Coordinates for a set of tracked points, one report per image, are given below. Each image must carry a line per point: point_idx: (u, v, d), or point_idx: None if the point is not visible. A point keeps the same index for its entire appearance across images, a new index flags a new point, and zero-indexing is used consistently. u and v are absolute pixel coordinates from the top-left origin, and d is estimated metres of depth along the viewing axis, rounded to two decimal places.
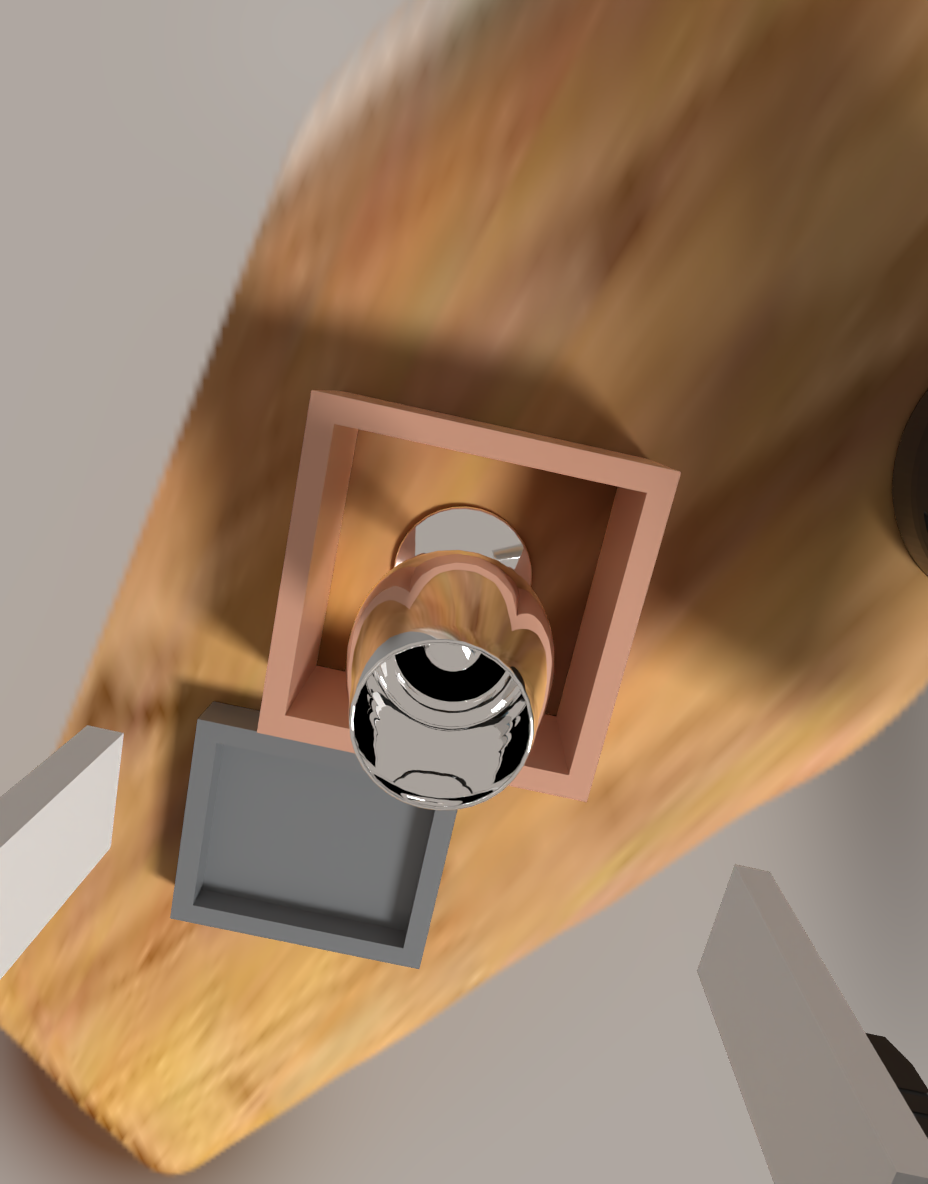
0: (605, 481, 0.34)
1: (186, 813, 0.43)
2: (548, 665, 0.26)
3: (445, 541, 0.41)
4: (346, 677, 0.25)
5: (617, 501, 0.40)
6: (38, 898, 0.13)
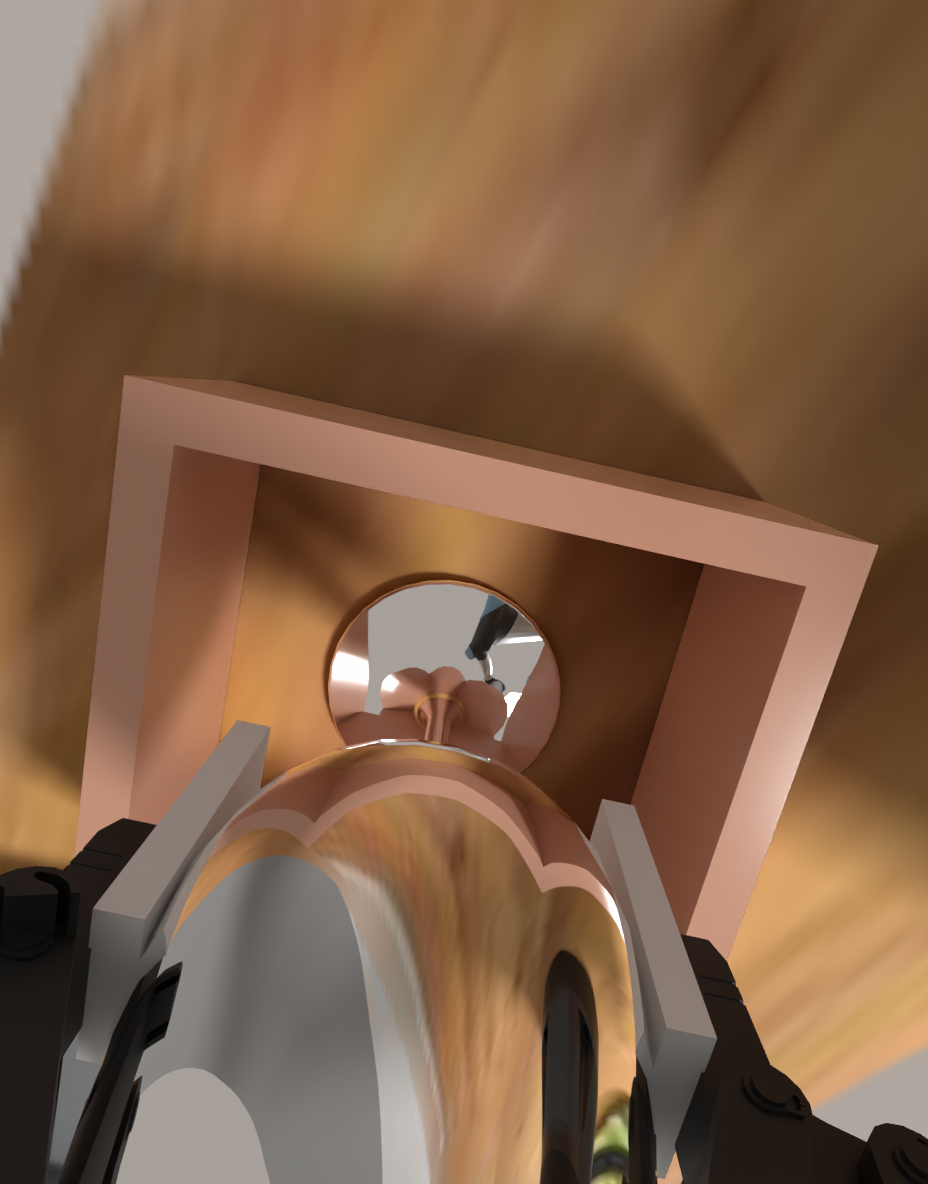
0: (724, 563, 0.17)
1: None
2: (653, 1163, 0.09)
3: (414, 639, 0.24)
4: None
5: (712, 576, 0.23)
6: None
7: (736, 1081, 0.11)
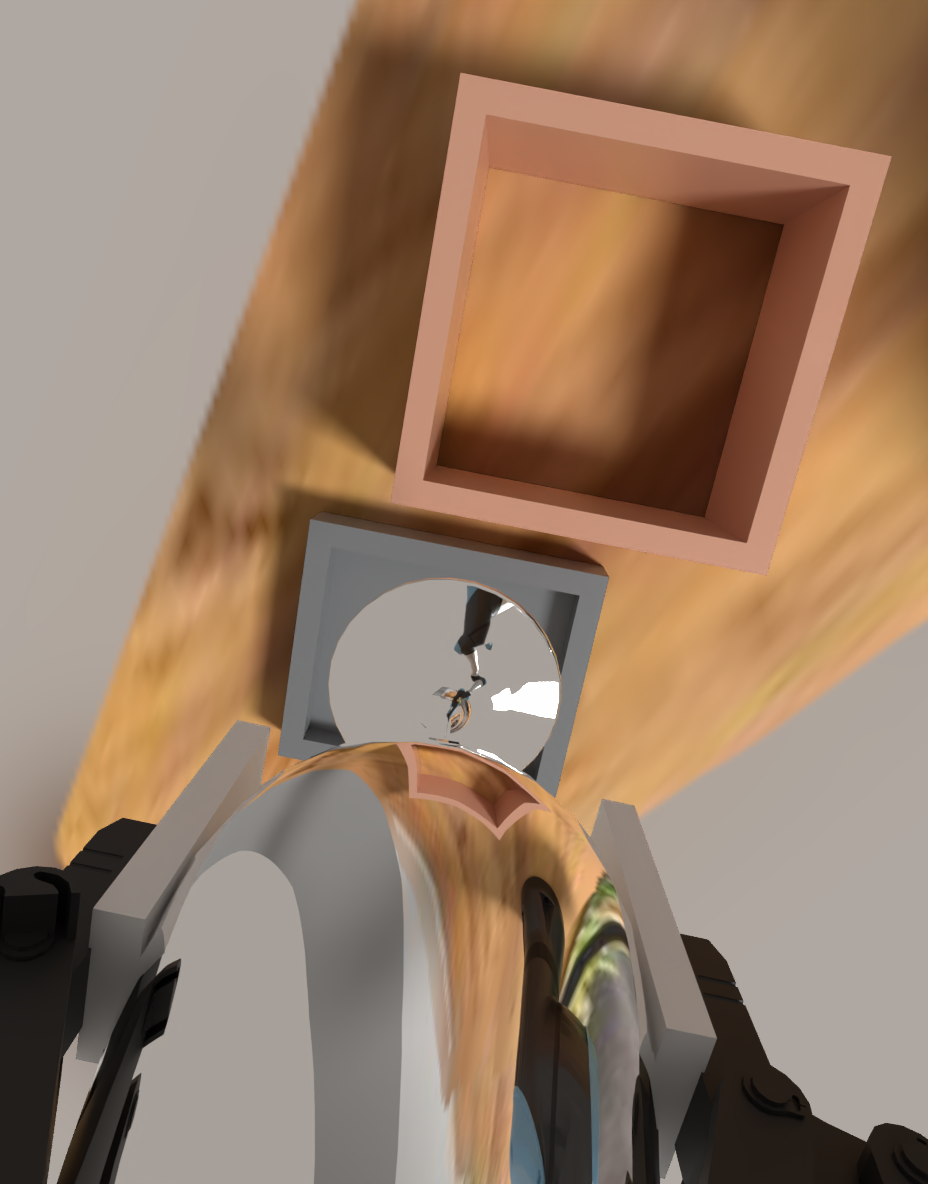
0: (801, 172, 0.29)
1: (296, 631, 0.39)
2: (656, 1160, 0.09)
3: (414, 637, 0.24)
4: None
5: (784, 248, 0.35)
6: None
7: (736, 1081, 0.11)
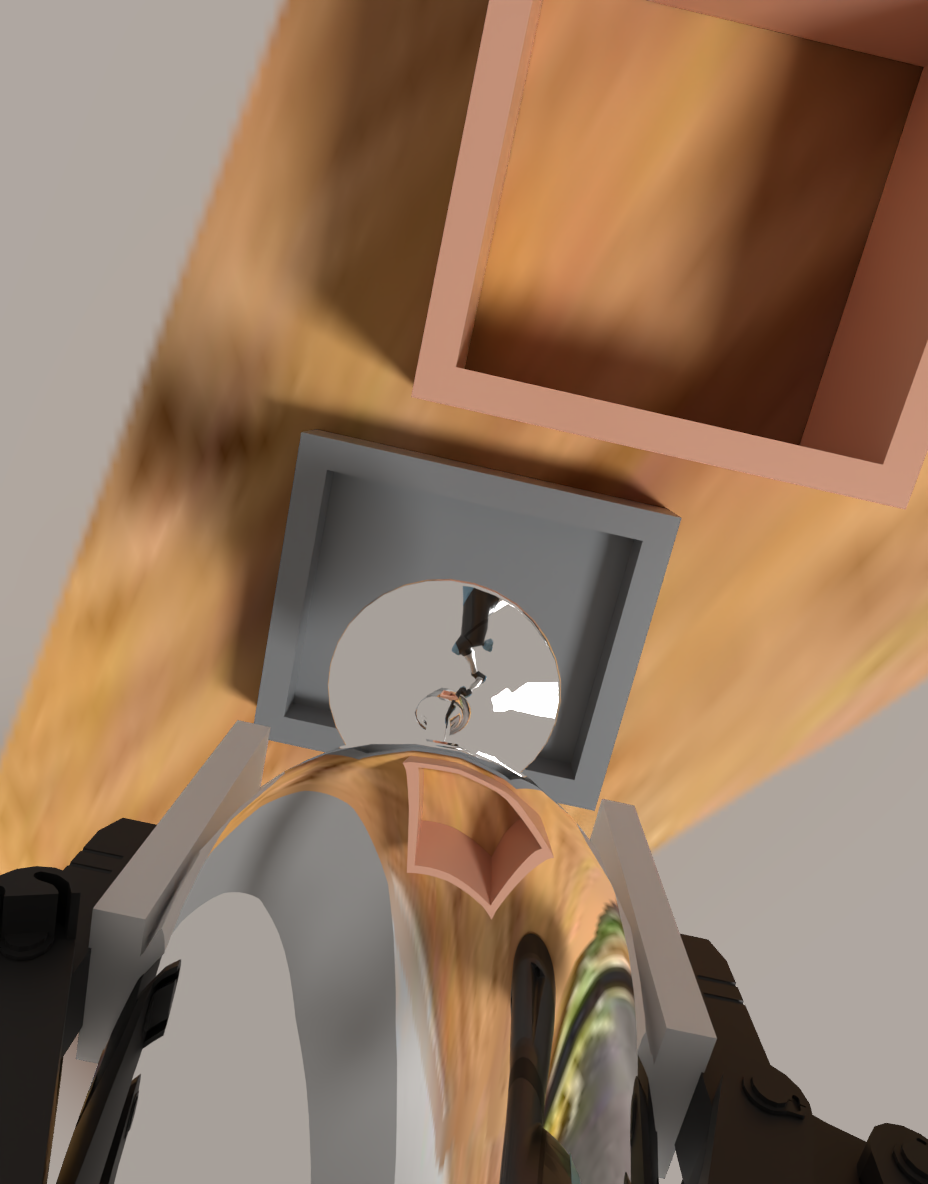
0: None
1: (280, 578, 0.31)
2: (655, 1163, 0.09)
3: (414, 638, 0.24)
4: None
5: (926, 93, 0.27)
6: None
7: (736, 1081, 0.11)
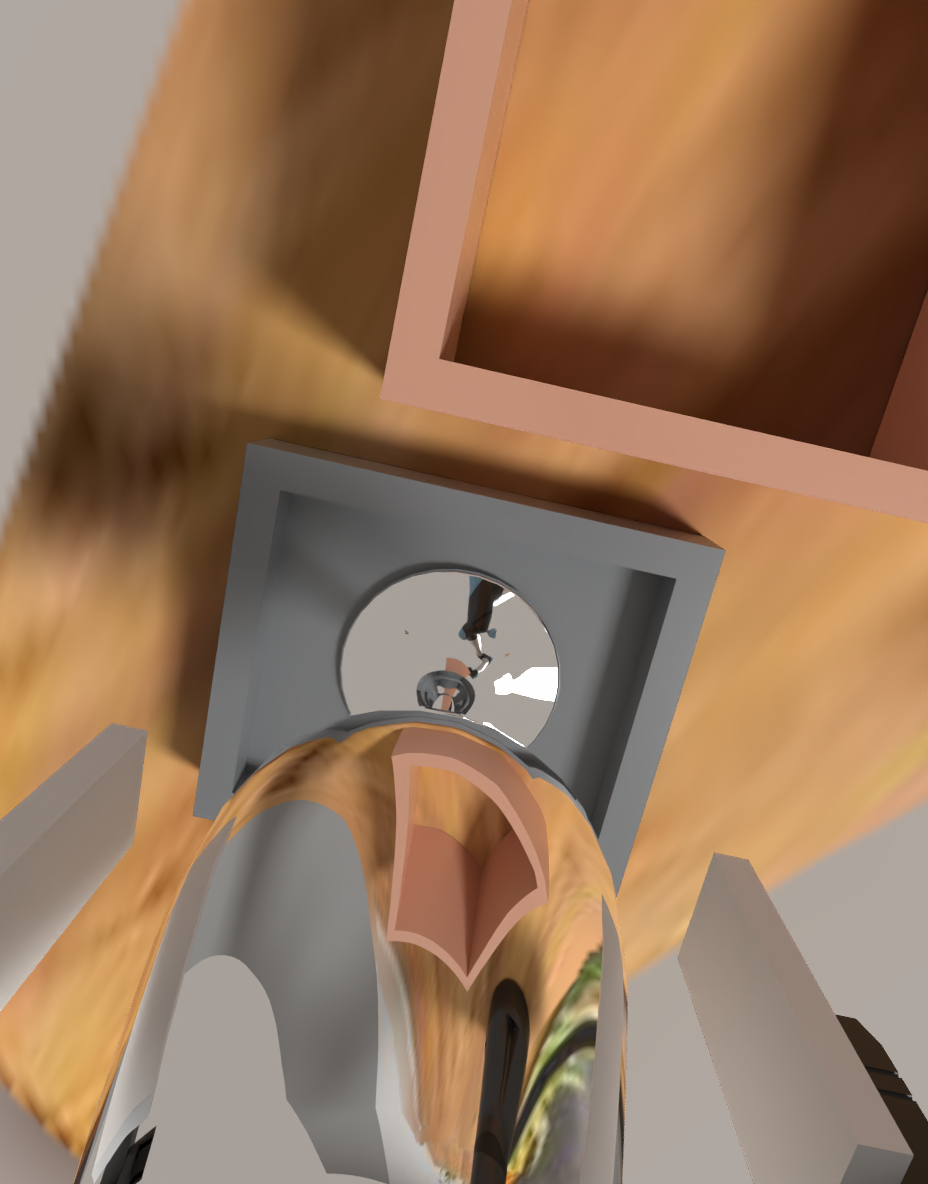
0: None
1: (224, 624, 0.25)
2: (623, 1063, 0.10)
3: (421, 624, 0.25)
4: None
5: None
6: (67, 892, 0.14)
7: None
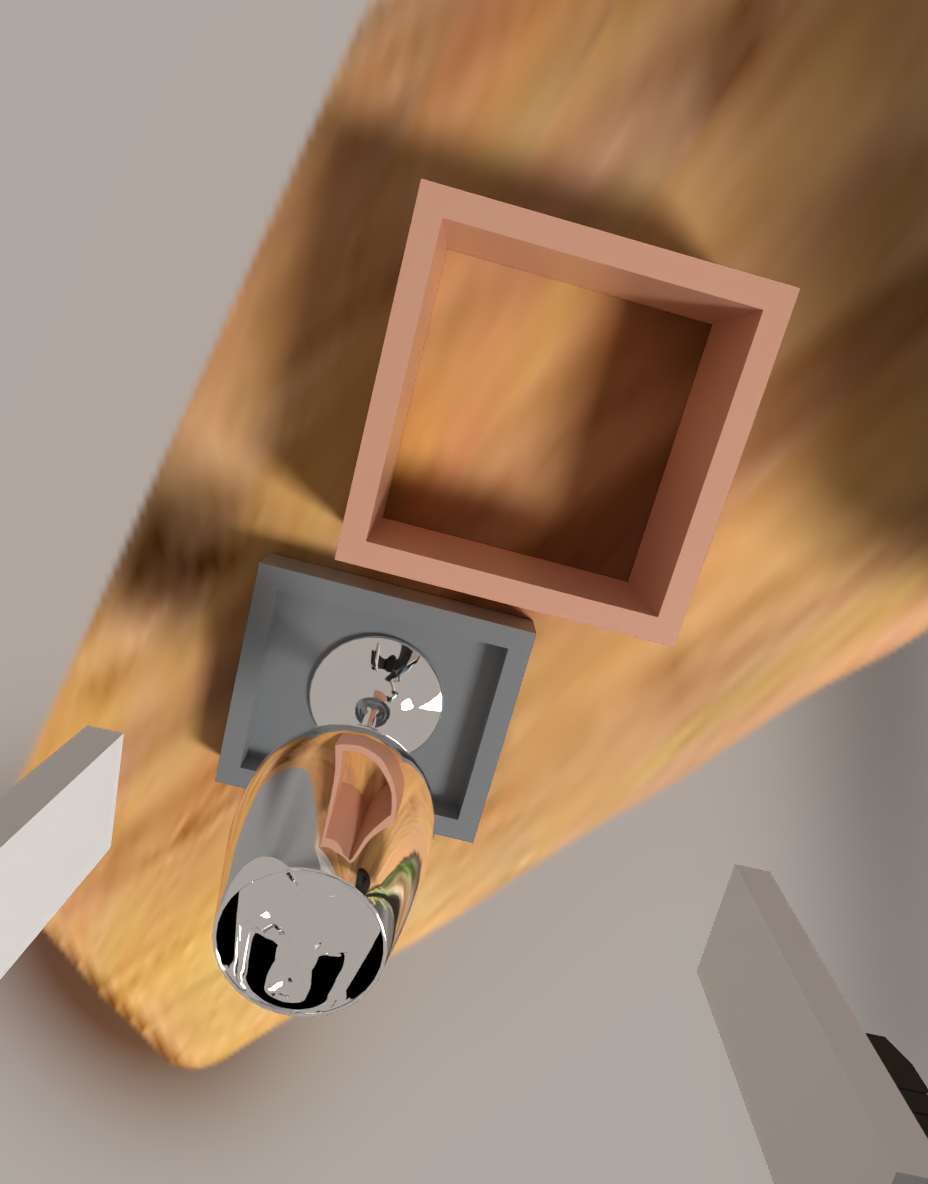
0: (721, 295, 0.32)
1: (240, 666, 0.41)
2: (417, 862, 0.27)
3: (359, 669, 0.42)
4: None
5: (710, 347, 0.38)
6: (39, 898, 0.13)
7: None
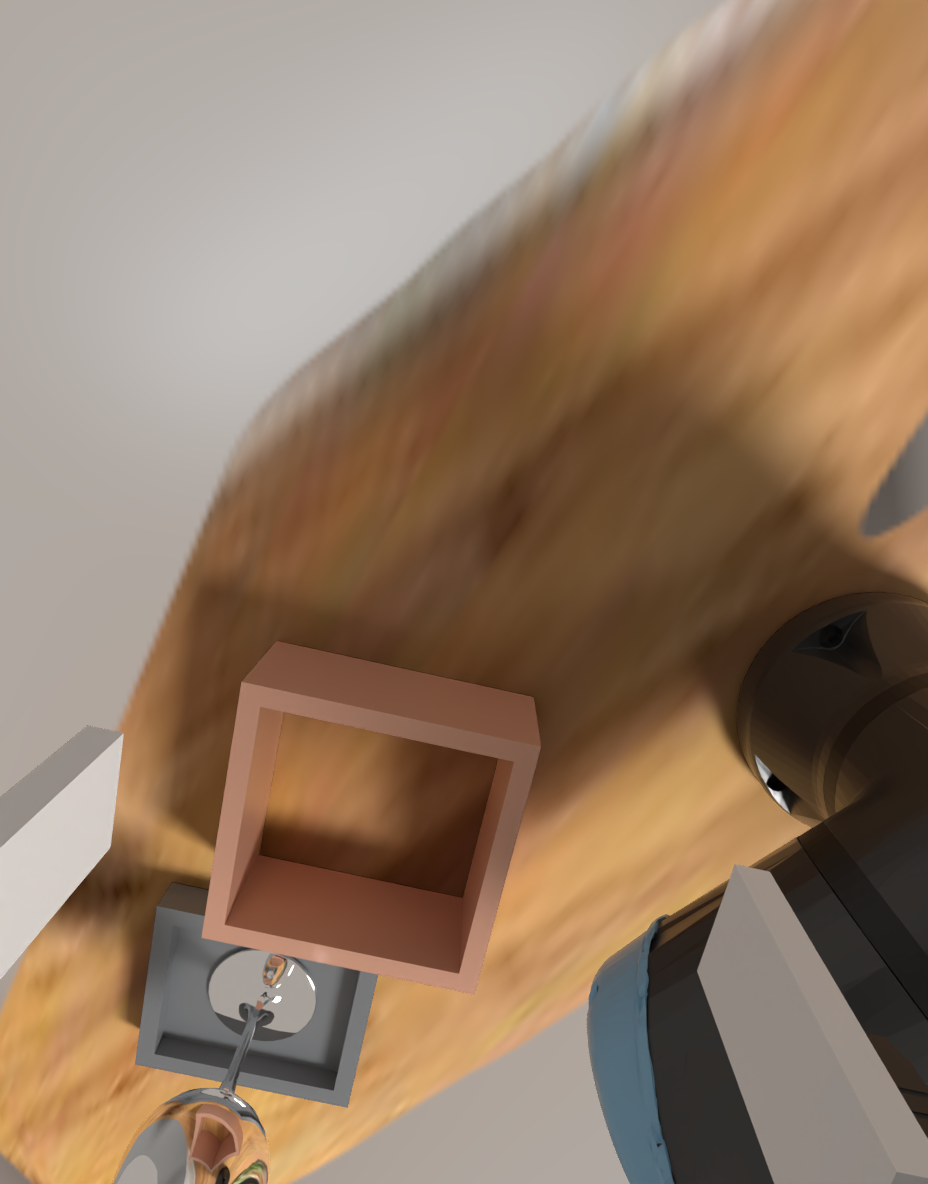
0: (480, 753, 0.41)
1: (148, 980, 0.51)
2: None
3: (245, 975, 0.52)
4: None
5: None
6: (38, 898, 0.13)
7: None
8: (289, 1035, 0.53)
